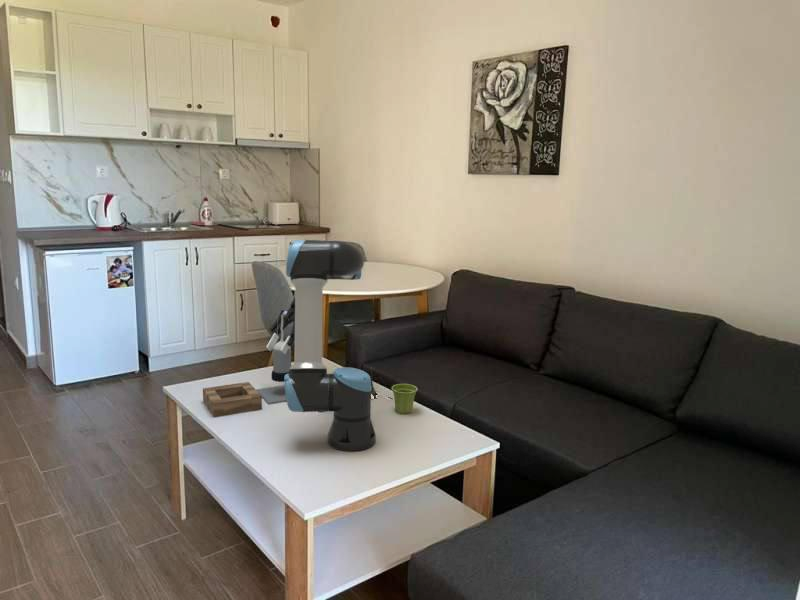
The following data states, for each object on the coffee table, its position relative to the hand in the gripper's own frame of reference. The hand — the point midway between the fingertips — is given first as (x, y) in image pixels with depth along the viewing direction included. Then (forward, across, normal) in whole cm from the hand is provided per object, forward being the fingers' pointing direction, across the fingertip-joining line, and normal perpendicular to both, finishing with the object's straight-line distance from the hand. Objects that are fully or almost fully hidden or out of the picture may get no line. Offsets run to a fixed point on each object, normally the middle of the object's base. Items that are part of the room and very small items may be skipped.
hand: (275, 350), depth 220 cm
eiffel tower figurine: (-1, -30, -28) cm, 41 cm away
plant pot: (+2, -48, -24) cm, 53 cm away
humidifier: (+6, 0, -11) cm, 13 cm away
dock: (+24, +7, -2) cm, 25 cm away
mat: (+11, 0, -15) cm, 18 cm away
